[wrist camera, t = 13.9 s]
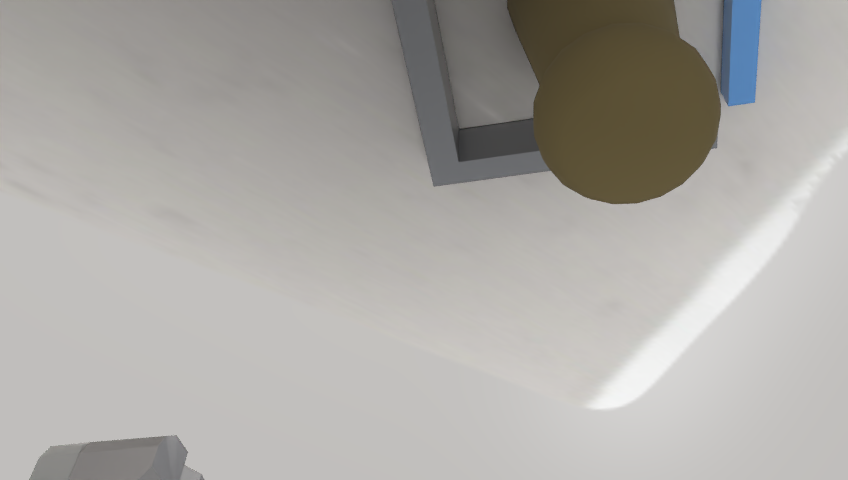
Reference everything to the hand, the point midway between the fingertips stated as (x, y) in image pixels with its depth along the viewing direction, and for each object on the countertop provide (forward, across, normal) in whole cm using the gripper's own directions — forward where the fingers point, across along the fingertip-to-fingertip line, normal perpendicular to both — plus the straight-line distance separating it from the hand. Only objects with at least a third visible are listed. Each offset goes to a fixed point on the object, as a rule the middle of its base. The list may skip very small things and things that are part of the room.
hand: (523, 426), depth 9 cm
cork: (+24, -4, +5) cm, 25 cm away
